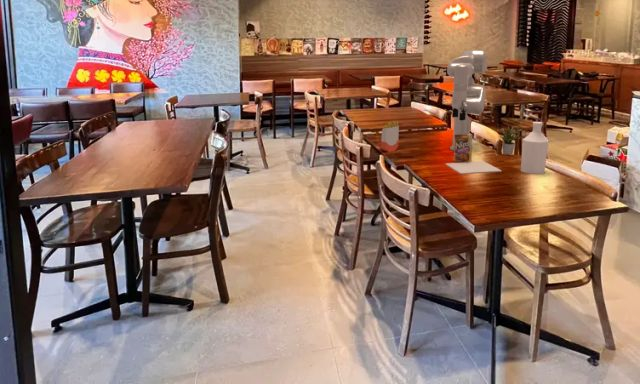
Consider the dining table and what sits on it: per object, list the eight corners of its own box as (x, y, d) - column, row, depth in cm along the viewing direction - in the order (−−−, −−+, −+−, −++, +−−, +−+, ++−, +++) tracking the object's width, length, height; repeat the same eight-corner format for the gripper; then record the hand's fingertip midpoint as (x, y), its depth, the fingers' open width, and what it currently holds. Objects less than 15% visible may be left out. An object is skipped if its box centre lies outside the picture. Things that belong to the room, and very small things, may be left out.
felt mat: (445, 164, 278) (445, 163, 278) (483, 162, 281) (483, 161, 281) (460, 174, 259) (460, 173, 259) (501, 171, 263) (501, 170, 262)
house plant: (523, 157, 291) (526, 128, 286) (498, 156, 294) (500, 128, 289) (519, 151, 304) (522, 124, 299) (495, 150, 307) (497, 123, 302)
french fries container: (380, 151, 311) (381, 122, 306) (392, 148, 318) (393, 119, 312) (386, 152, 308) (386, 123, 303) (398, 149, 315) (399, 120, 309)
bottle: (524, 166, 271) (529, 119, 263) (548, 170, 264) (553, 121, 256) (516, 171, 262) (521, 123, 255) (540, 175, 255) (546, 125, 247)
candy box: (453, 161, 283) (454, 134, 280) (456, 160, 287) (456, 133, 283) (469, 162, 278) (470, 134, 275) (471, 161, 282) (472, 133, 278)
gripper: (447, 86, 288) (446, 116, 294) (460, 89, 272) (458, 121, 277) (460, 85, 289) (458, 115, 295) (473, 89, 273) (471, 121, 278)
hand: (458, 118), depth 286 cm, fingers open, 9 cm apart
